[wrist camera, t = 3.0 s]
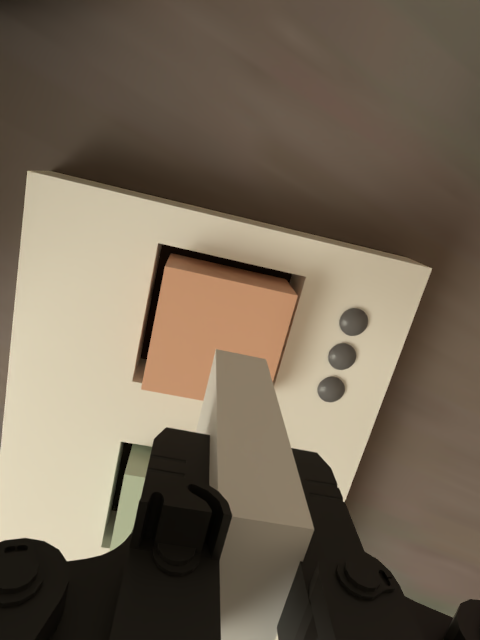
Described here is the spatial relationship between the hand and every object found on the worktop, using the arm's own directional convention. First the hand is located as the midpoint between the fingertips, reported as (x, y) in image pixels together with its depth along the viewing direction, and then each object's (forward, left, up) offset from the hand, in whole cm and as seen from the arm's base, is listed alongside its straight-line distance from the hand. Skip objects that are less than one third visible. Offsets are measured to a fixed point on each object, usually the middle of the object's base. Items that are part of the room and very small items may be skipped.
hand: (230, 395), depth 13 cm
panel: (0, -9, -8) cm, 12 cm away
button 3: (0, 0, -7) cm, 7 cm away
